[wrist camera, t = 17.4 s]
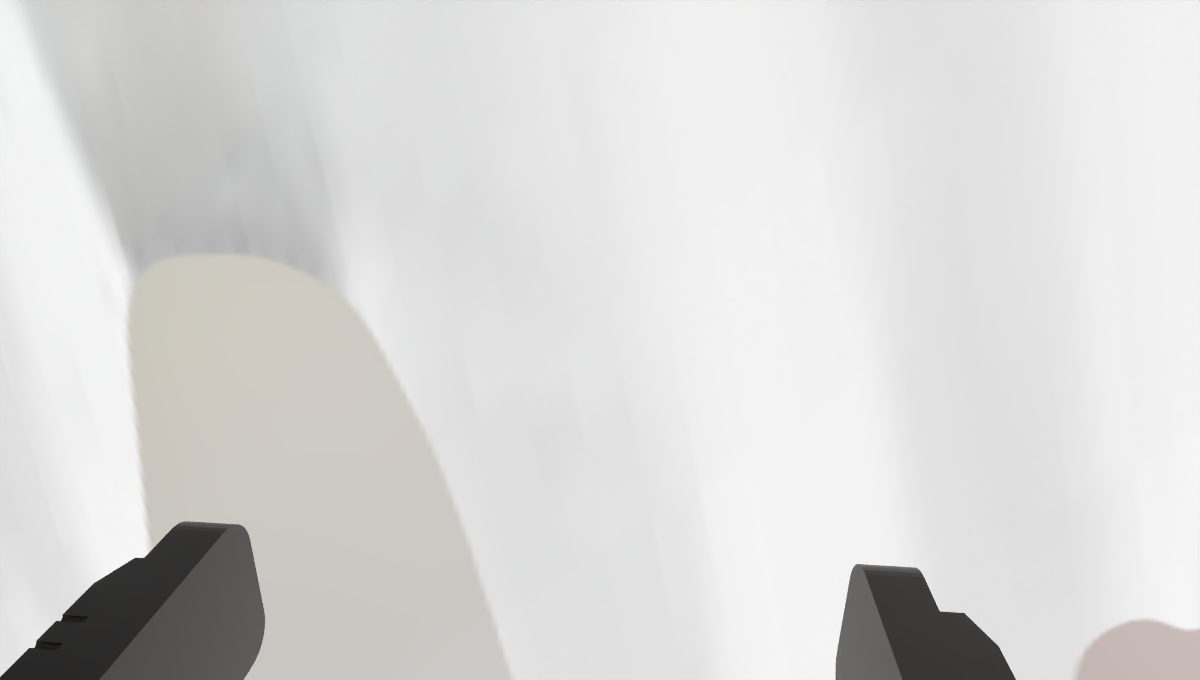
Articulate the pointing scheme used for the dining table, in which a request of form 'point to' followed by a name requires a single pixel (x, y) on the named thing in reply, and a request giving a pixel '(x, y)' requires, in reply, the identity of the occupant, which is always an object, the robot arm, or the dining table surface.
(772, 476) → the dining table surface
